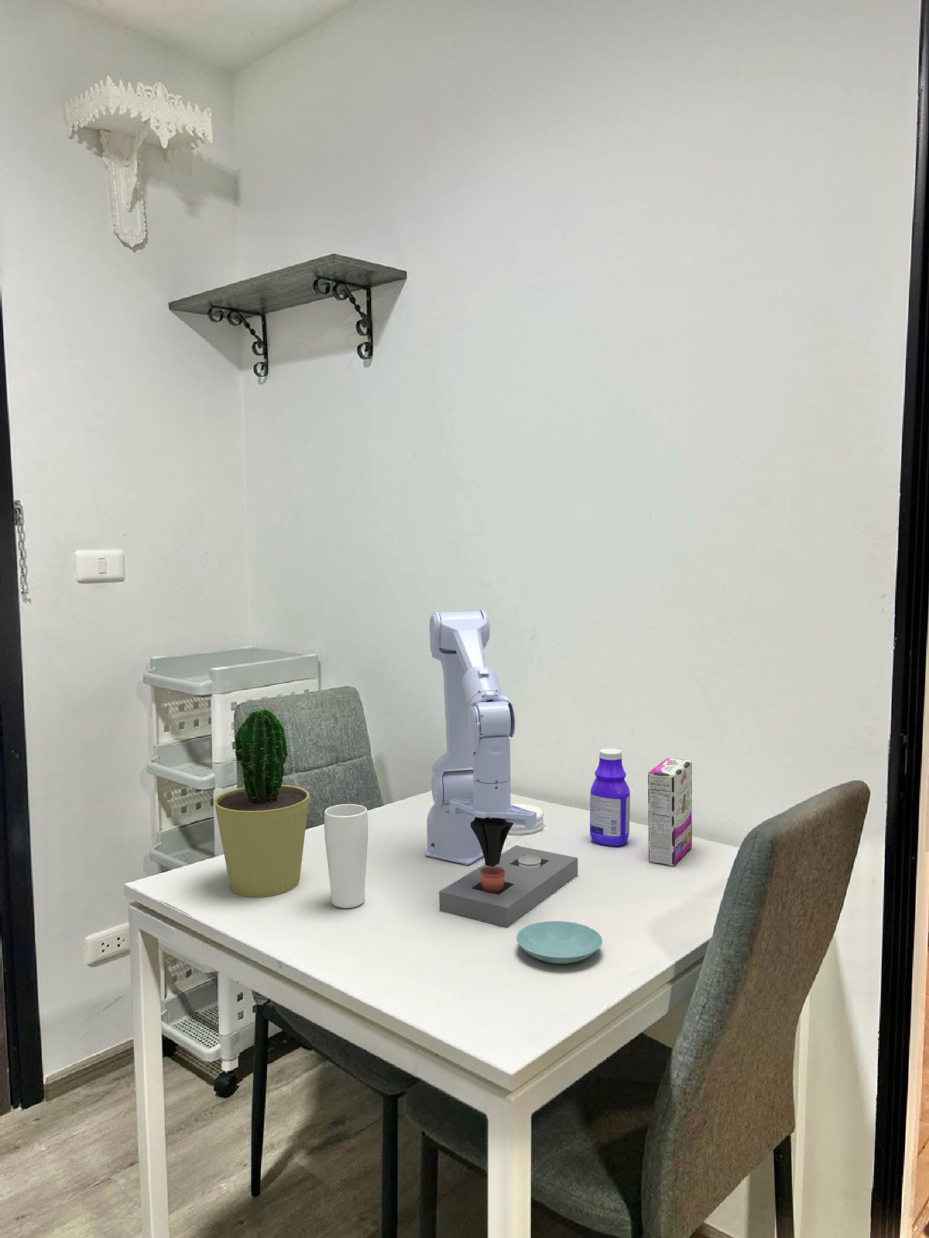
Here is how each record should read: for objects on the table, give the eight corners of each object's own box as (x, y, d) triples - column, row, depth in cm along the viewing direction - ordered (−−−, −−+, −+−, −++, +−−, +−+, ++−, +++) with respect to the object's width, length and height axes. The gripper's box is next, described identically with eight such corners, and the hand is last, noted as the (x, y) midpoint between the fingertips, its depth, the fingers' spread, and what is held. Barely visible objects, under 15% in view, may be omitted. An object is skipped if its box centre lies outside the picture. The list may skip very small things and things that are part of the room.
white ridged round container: (517, 816, 188) (517, 799, 188) (553, 827, 181) (553, 810, 180) (482, 827, 181) (481, 810, 181) (518, 840, 174) (518, 821, 174)
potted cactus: (261, 861, 164) (256, 694, 161) (330, 876, 156) (326, 702, 153) (196, 890, 150) (189, 710, 147) (268, 909, 143) (262, 719, 140)
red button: (475, 888, 143) (475, 872, 142) (488, 880, 146) (488, 864, 146) (497, 893, 141) (496, 876, 140) (509, 885, 144) (509, 868, 144)
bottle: (633, 840, 172) (634, 749, 170) (622, 849, 167) (622, 756, 166) (598, 834, 176) (598, 744, 174) (585, 842, 171) (585, 751, 169)
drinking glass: (376, 897, 147) (374, 805, 146) (358, 913, 141) (356, 818, 139) (338, 892, 149) (336, 801, 148) (318, 908, 143) (316, 814, 141)
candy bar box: (665, 843, 170) (666, 756, 169) (692, 847, 168) (693, 759, 166) (646, 862, 161) (646, 770, 159) (674, 867, 158) (675, 774, 157)
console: (507, 927, 135) (507, 907, 135) (439, 910, 142) (439, 891, 141) (577, 874, 155) (577, 857, 155) (515, 861, 162) (515, 845, 162)
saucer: (515, 934, 133) (515, 919, 133) (597, 934, 133) (597, 919, 133) (517, 973, 122) (517, 957, 122) (607, 974, 121) (607, 957, 121)
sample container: (514, 876, 153) (513, 860, 153) (524, 869, 156) (524, 853, 156) (534, 880, 151) (534, 864, 151) (544, 873, 154) (544, 857, 154)
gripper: (438, 778, 142) (439, 863, 143) (520, 791, 134) (521, 881, 136) (462, 768, 148) (463, 850, 149) (542, 780, 140) (543, 866, 142)
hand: (492, 864), depth 143 cm, fingers closed
